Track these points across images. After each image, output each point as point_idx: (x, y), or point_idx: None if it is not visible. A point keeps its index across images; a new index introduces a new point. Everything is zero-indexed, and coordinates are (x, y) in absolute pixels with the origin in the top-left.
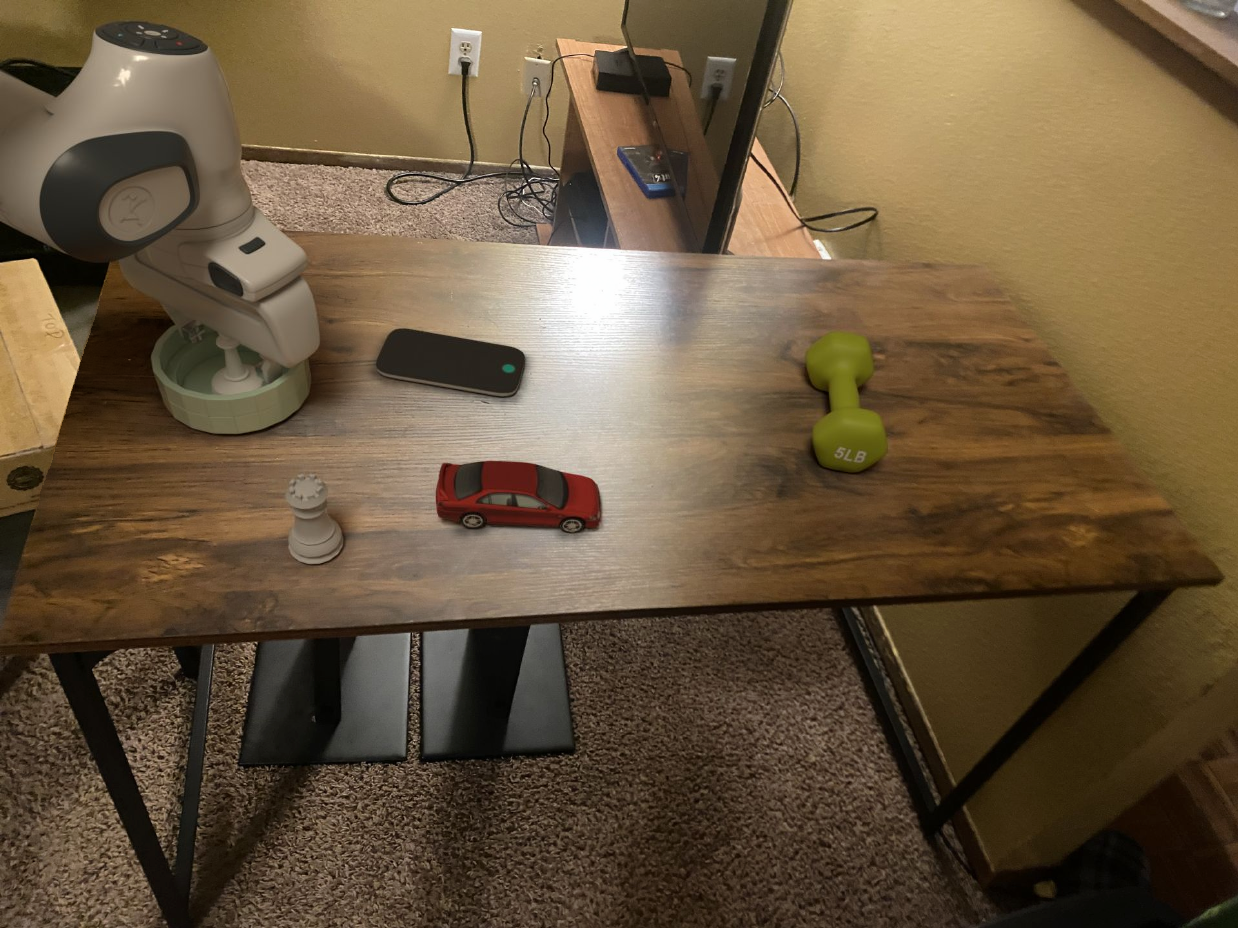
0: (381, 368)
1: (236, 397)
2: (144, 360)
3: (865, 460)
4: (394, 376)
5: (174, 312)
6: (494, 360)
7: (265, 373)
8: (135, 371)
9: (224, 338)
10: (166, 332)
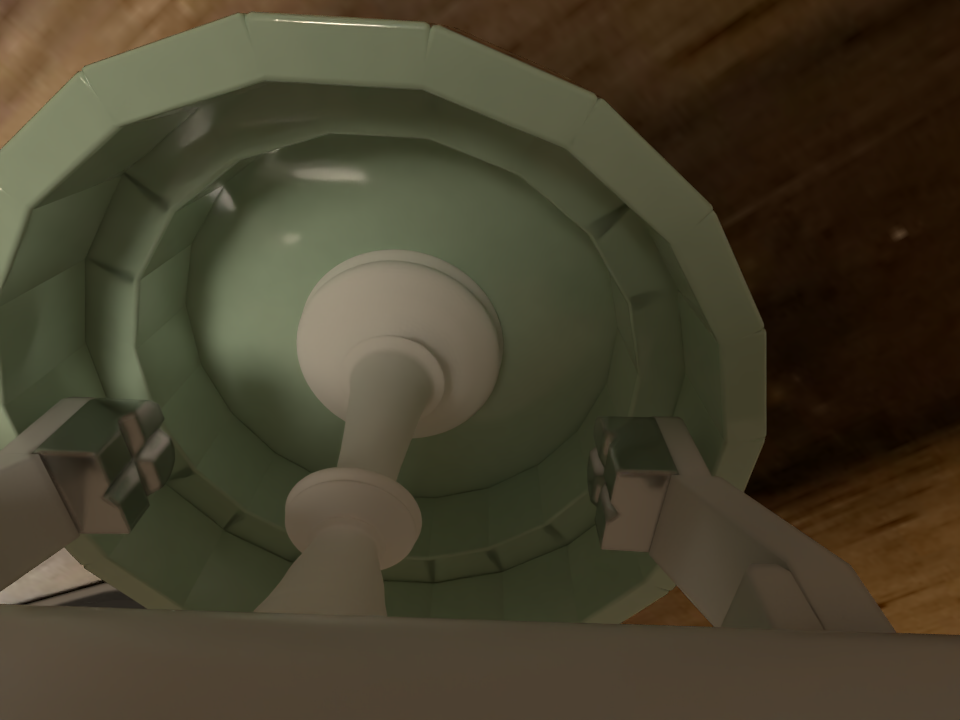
0: (127, 600)
1: None
2: (837, 263)
3: None
4: (93, 591)
5: (751, 558)
6: None
7: (22, 441)
8: (837, 192)
9: (320, 538)
10: (757, 409)
